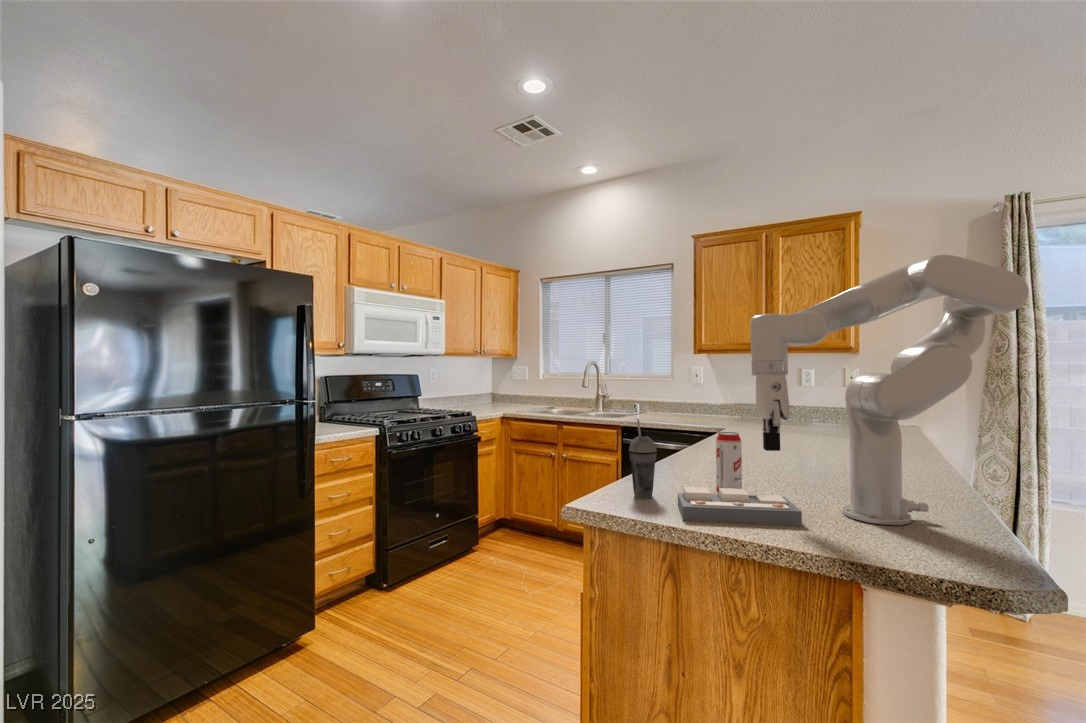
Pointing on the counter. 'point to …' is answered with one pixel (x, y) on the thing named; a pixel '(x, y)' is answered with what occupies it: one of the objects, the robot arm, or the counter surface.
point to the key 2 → (770, 499)
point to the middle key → (733, 495)
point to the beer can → (728, 461)
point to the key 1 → (697, 494)
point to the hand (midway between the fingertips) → (771, 449)
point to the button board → (739, 511)
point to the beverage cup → (642, 465)
